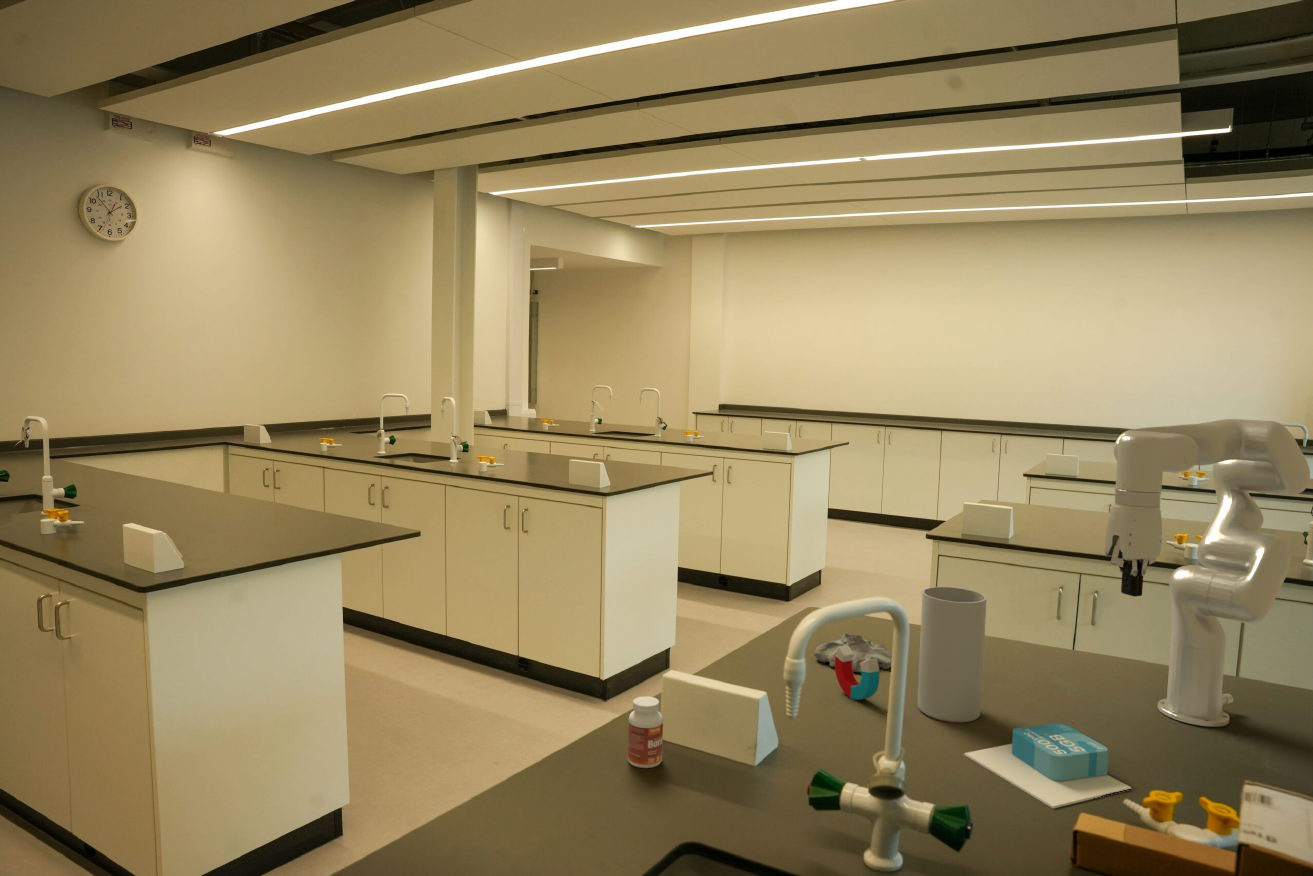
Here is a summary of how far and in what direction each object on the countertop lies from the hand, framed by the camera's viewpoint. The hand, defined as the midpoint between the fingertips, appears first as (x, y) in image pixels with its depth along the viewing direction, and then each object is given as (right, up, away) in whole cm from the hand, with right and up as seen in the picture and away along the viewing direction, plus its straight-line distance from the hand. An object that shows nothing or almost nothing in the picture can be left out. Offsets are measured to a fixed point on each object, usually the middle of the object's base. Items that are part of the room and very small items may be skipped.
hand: (1131, 594), depth 157 cm
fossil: (-41, -26, +44) cm, 66 cm away
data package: (-12, -27, -7) cm, 30 cm away
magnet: (-47, -27, +22) cm, 59 cm away
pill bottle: (-93, -28, -10) cm, 98 cm away
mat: (-22, -30, -11) cm, 38 cm away
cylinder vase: (-30, -28, +15) cm, 43 cm away
